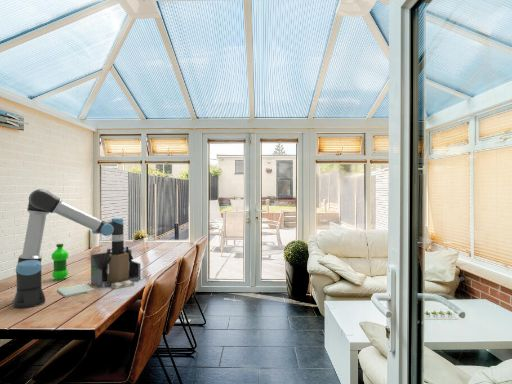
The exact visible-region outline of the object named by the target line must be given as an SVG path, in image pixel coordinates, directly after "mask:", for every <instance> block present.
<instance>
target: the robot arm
mask: <svg viewBox="0 0 512 384" xmlns="http://www.w3.org/2000/svg"><path fill="white" fill-rule="evenodd" d="M26 212H28V213H29V216H28V221H27V228H26V231H25V236H24V237H25V238H24V244H23V249H22V254H20V255H19V256H18V259H17V263H16V267H15V274H16V275H15V276H16V292H15V296H14V298H13V300H12V307H13V308H16V309H26V308H31V307H36V306H40V305H42V304H44V303H46V296H45V293H44V290H43V289H42V288H43V287H42V282H43V281H42V268H43V266H42V261H43V260H42V259H43V257H42V256H41V254H40V253H41V249H42V243H43V241H42V240H43V236H44V231H45V225H46V220H47V215H49V214H57V215H59V216H61V217H64V218H66V219H68V220H70V221H72V222H75V223H76V224H79V225H81V226H84V227H85V228H88V229H90V230H91V232H92V234H97V235H98V234H100V235H102V236H104V237H106V236H107V237H108V236H111V248H106V252H105V253H106V255H105V257H104V259H103V261H102V263H103V264H105V269H107V274H109V264H108V263H109V261H110V260H111V257H109V258H108V256H109V253H110V252H112V253H111V255H115V254H121V253H122V254H124V252H123V250H126V252H127V253H129V257H130V258H129V265H130V261H131V260H132V261H133V259H134V257H133V256H132V255H131V254H132V252H131V253H130V251H129V250H130V248H129V246H124V245H125V244H124V239H125V238H124V237H125V236H124V235H125V234H124V219H123V218H122V217H113V218H111V220H109V221H104V220H102V219H100V218H97V217H95V216H93V215H91V214H90V213H88V212H85V211H83V210H82V209H78V208H77V207H76V206H75V207H74V206H73V205H71V204H68V203H66V202H64V201H63V200H62V198H60V197H58V196H57V195H55V194H53V193H52V192H50V191H49V190H46V189H42V188H41V189H39V188H38V189H35V190H33V191H32V192H31V193H30V194H29V196H28V204H27V211H26ZM107 258H108V259H107Z"/></svg>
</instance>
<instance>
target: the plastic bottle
mask: <svg viewBox="0 0 512 384" xmlns="http://www.w3.org/2000/svg"><path fill="white" fill-rule="evenodd" d="M63 247H64V243H57V244H56V249H55V250H54V251H53V252H52V253H51V260H53V271H52V274H51V276H52V277H53V278H54V279H55V280H56V281H59V280H61V279H62V280H65V278H66V277H68V274H69V271H68V269H67V259H69V253H68V251H67V250H65V249H64V248H63Z"/></svg>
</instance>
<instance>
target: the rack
mask: <svg viewBox="0 0 512 384" xmlns="http://www.w3.org/2000/svg"><path fill="white" fill-rule="evenodd" d="M129 251H130V253H131V255H132V249H130V248H129ZM123 252H124V253H127V252H126V250H125V249H124V250H123ZM111 253H112V251H111V252H110V253H109V254H111ZM105 255H106V252H102V253H101V252H100V253H94V254H93V253H92V254H90V280H91V281H90V283H91V284H90V285H92V284H93V285H95V286H96V287H98V288H102V287H103V282H106V283H104V284H105V286H104V287H105V288H110V287H111V284H112V283H117V282H123V281H128V280H130V281H132V282H134V283H135V282H139V281H140V280H141V276H142V275H141V271H142V270H141V269H142V268H141V262H138V261H134V260H133V259H132V260H131V261H130V265H129V279H125V280H120V281H115V282H109V283H107V269H105V264H103V263H102V261H103V259H104V257H105ZM129 258H130V257H129ZM130 277H131V278H130ZM111 288H112V287H111Z"/></svg>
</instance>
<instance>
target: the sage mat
mask: <svg viewBox="0 0 512 384" xmlns="http://www.w3.org/2000/svg"><path fill="white" fill-rule="evenodd" d="M94 290H96V289H95V288H93V287H92V286H90V285H89V284H87V283H83V284H77V285H72V286H65V287H60V288H57V289H56V292H58V293H59V294H60V295H61V296H63V297H64V298H69V297H74V296H79V295H84V294H87V293H88V292H90V291H94Z"/></svg>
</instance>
